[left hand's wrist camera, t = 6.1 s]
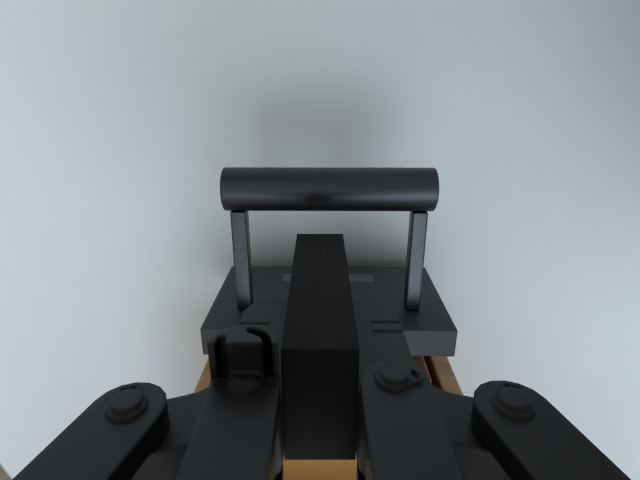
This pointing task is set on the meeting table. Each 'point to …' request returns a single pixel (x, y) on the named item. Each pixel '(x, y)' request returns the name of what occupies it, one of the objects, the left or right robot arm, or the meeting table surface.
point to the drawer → (365, 282)
